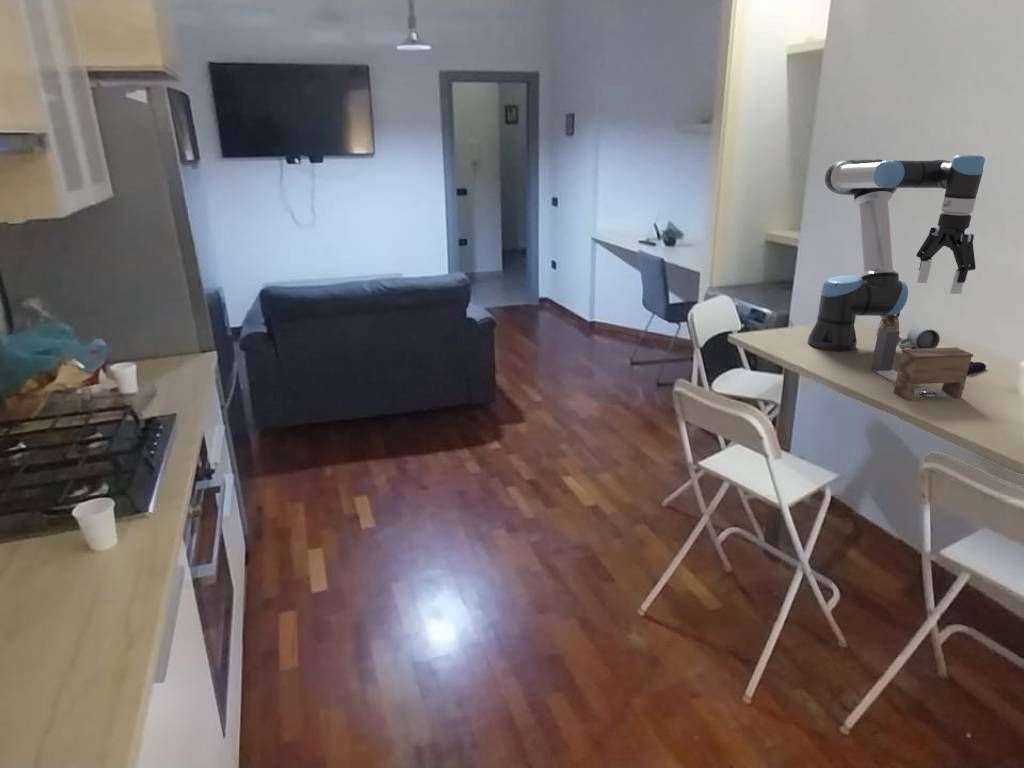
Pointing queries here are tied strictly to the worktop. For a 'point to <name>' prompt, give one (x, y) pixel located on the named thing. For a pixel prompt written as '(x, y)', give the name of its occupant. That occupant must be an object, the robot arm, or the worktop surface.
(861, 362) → the worktop surface
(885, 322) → the figurine
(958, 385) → the walnut stool
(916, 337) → the ceramic mug
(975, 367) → the door handle
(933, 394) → the dark grey round piece
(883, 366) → the grey block with plate
